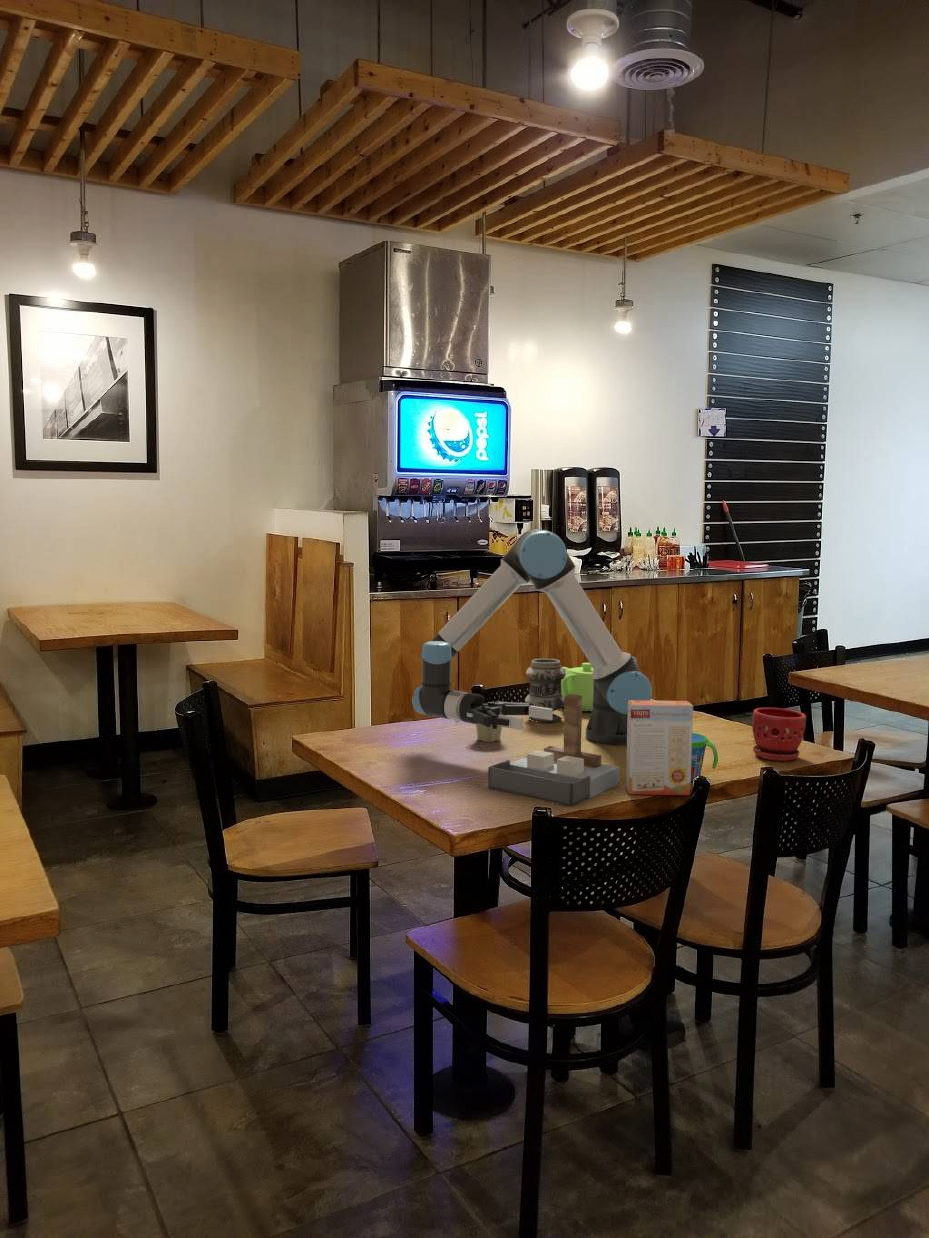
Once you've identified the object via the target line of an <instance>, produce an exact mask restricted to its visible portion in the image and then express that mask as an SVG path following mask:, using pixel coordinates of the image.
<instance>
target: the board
mask: <svg viewBox="0 0 929 1238" xmlns="http://www.w3.org/2000/svg"><path fill="white" fill-rule="evenodd" d="M510 771H514V772H519V773H524V774H529V775H534V776H539V777H543V778H548V779H553V780H558V781H563V782H568V783H573V782H575V781H577V780H579V779H582V778H584V777H586V776H590V798H592V797H594V796H597V795H599V794H601V793H603V792H605V791H607V790H609V789H610V788H613V787H616V786H617V785H619V784H620V766H614V765H609V764H605V763H601V766H599V767H597V768H590V767H585V766H584V772H581V773H579V774H577V775H575V776H572V775H567V774H562V773H557V761H554V766H552V767H549V768H547V769H544V770H542V769H537V768H532V767H527V756H525V757H523V758H520V759H518V760H515V761H512V762H510ZM590 798H589V799H590Z"/></svg>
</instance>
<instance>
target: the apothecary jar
mask: <svg viewBox="0 0 929 1238" xmlns="http://www.w3.org/2000/svg"><path fill="white" fill-rule="evenodd" d="M562 667H563V666H561V661H560V660H559V659H557V658H534V659H532V660H531V663H530V666H529V667H528V668H527V669H526V671H525V674H526V677H527V678H528V679H529V692H528V693H529V694H527V696H526V697H525V699H524V703H529V702H532V703H533V706H537V707H543V708H549V709H553V712H556V711H557V710H560V709H562V708H564V707H563V706H564V705H565V698H564V696H563V695H562V693H561V680H562V679H563V678H564V677H565V675H566V673H565V670H564V669H563V668H562ZM529 719H531V720H533V721H537V722H536V723H539V722H554V723H558V722H557V721H559V722H561V721H562V717H561V716H559V715H557V714H556V713H553V720H546V719H540V718H534V717H529V716H528V720H529ZM533 721H532V722H533Z"/></svg>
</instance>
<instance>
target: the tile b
mask: <svg viewBox="0 0 929 1238" xmlns="http://www.w3.org/2000/svg"><path fill="white" fill-rule="evenodd" d="M581 772H584V759H582V758H577V757H572V756H565V757H562V758H560V759H557V773H562V774H567V775H572V776H575V775H577V774H579V773H581Z"/></svg>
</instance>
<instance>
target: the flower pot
mask: <svg viewBox="0 0 929 1238" xmlns="http://www.w3.org/2000/svg"><path fill="white" fill-rule="evenodd" d="M501 713H502V712H500V714H501ZM475 728H476V736H477V740H478V741H482V742H485V743H494V741H495V742H496V741H497V742H498V741H500V740H501V736H502V728H503V727H500V726H498V725H497V729H492V725H491V727H486V726H484V725H481V724H479V723H478V724H475Z"/></svg>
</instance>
